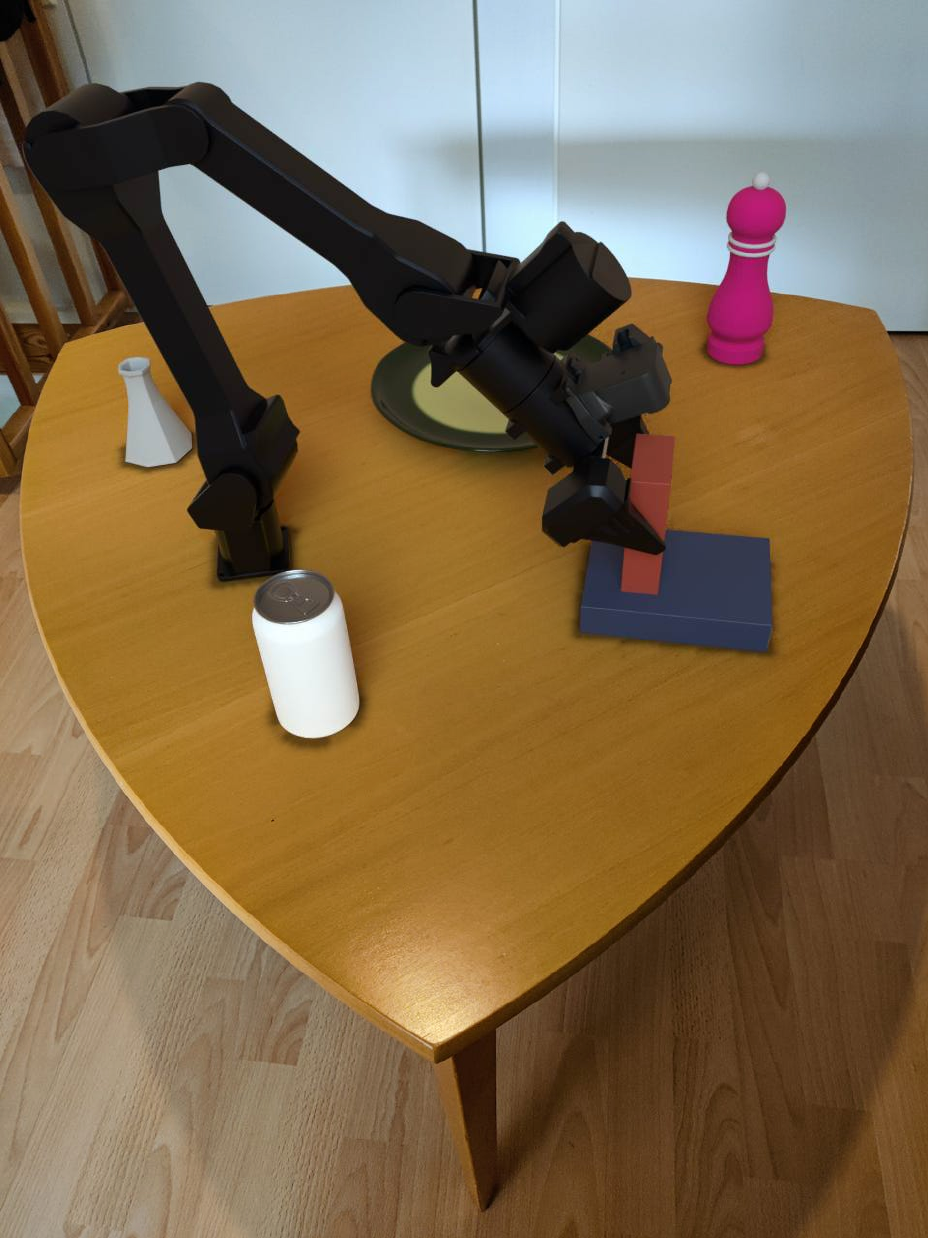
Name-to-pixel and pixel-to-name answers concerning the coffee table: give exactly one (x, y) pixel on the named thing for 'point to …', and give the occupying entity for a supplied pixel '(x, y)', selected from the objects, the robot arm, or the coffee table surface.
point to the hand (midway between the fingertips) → (664, 514)
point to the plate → (451, 401)
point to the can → (306, 653)
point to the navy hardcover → (686, 593)
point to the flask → (151, 419)
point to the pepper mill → (746, 275)
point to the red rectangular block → (649, 508)
